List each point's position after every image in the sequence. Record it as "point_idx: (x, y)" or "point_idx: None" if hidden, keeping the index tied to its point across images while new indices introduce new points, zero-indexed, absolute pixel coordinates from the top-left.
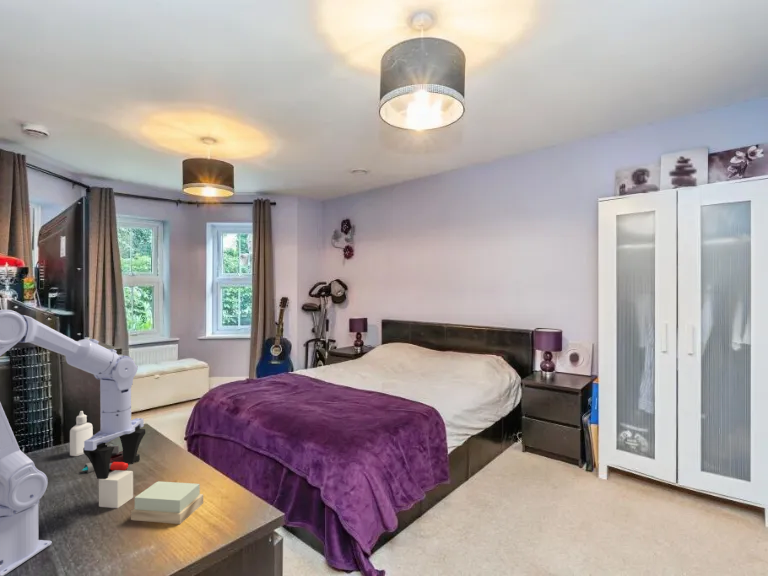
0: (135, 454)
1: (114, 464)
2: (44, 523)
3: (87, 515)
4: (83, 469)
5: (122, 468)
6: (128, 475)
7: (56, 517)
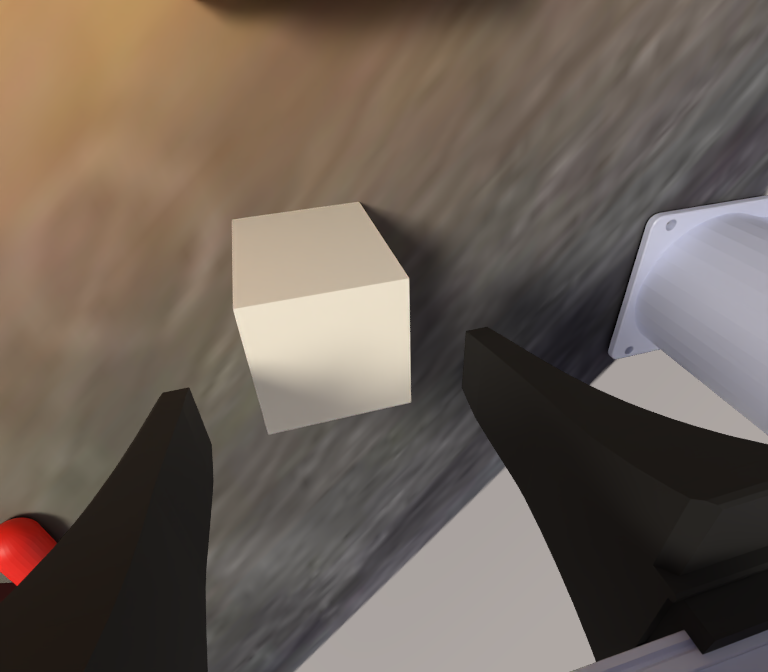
0: (150, 438)
1: None
2: None
3: (443, 283)
4: None
5: (33, 529)
6: (287, 292)
7: None
